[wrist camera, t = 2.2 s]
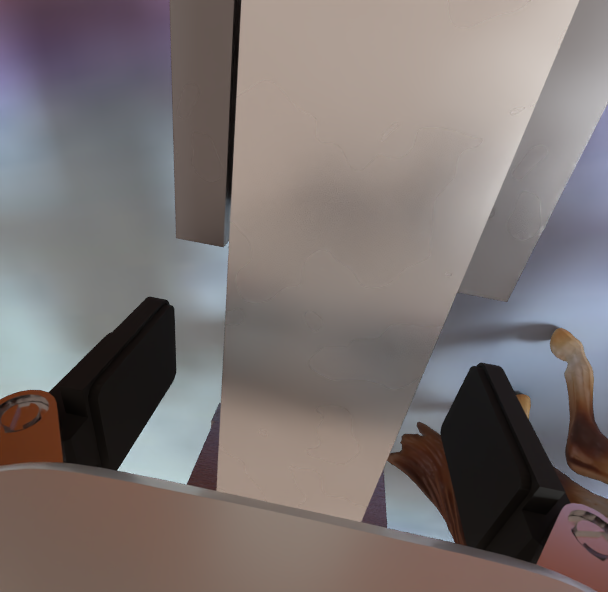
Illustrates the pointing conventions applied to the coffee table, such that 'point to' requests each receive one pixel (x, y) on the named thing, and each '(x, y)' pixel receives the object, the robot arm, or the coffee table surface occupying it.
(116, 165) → the coffee table surface
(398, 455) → the horse figurine
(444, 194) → the rail
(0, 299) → the coffee table surface
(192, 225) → the post
